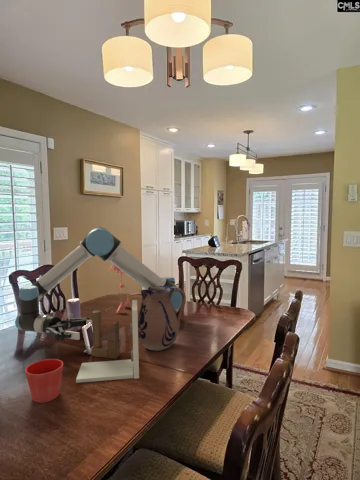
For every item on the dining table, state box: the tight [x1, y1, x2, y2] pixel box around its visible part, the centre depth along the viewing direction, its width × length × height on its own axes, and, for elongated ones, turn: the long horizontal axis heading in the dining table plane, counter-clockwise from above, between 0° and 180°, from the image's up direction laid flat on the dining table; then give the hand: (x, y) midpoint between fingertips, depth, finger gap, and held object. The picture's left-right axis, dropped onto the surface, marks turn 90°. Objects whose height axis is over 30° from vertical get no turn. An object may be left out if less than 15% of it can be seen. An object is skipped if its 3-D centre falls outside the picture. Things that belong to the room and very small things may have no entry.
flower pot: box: [24, 358, 64, 404], centre depth 100 cm, size 11×11×10 cm
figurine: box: [105, 263, 132, 314], centre depth 188 cm, size 15×26×35 cm, turn 164°
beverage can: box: [66, 297, 82, 332], centre depth 158 cm, size 6×6×15 cm
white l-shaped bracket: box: [75, 299, 140, 384], centre depth 114 cm, size 21×13×24 cm, turn 98°
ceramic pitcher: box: [138, 286, 187, 352], centre depth 136 cm, size 18×21×25 cm
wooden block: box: [90, 309, 121, 360], centre depth 127 cm, size 4×11×18 cm, turn 76°
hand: (90, 330), depth 130 cm, fingers open, 13 cm apart
